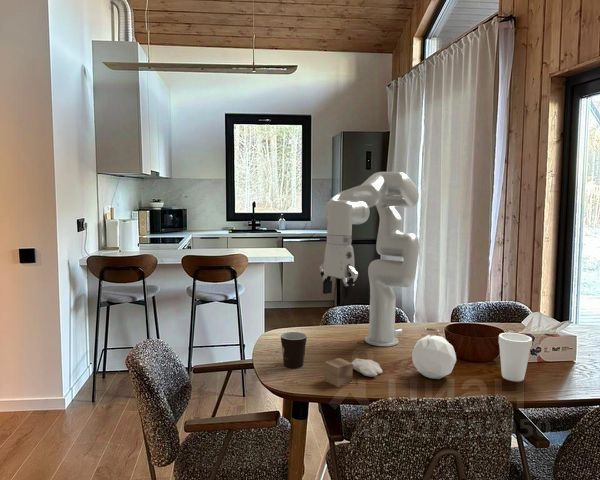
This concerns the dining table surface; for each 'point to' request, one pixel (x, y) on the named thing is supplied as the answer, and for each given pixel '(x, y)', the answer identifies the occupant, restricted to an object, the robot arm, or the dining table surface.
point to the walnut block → (338, 372)
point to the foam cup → (514, 355)
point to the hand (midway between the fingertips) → (337, 296)
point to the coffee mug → (293, 349)
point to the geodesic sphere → (434, 356)
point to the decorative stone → (367, 367)
